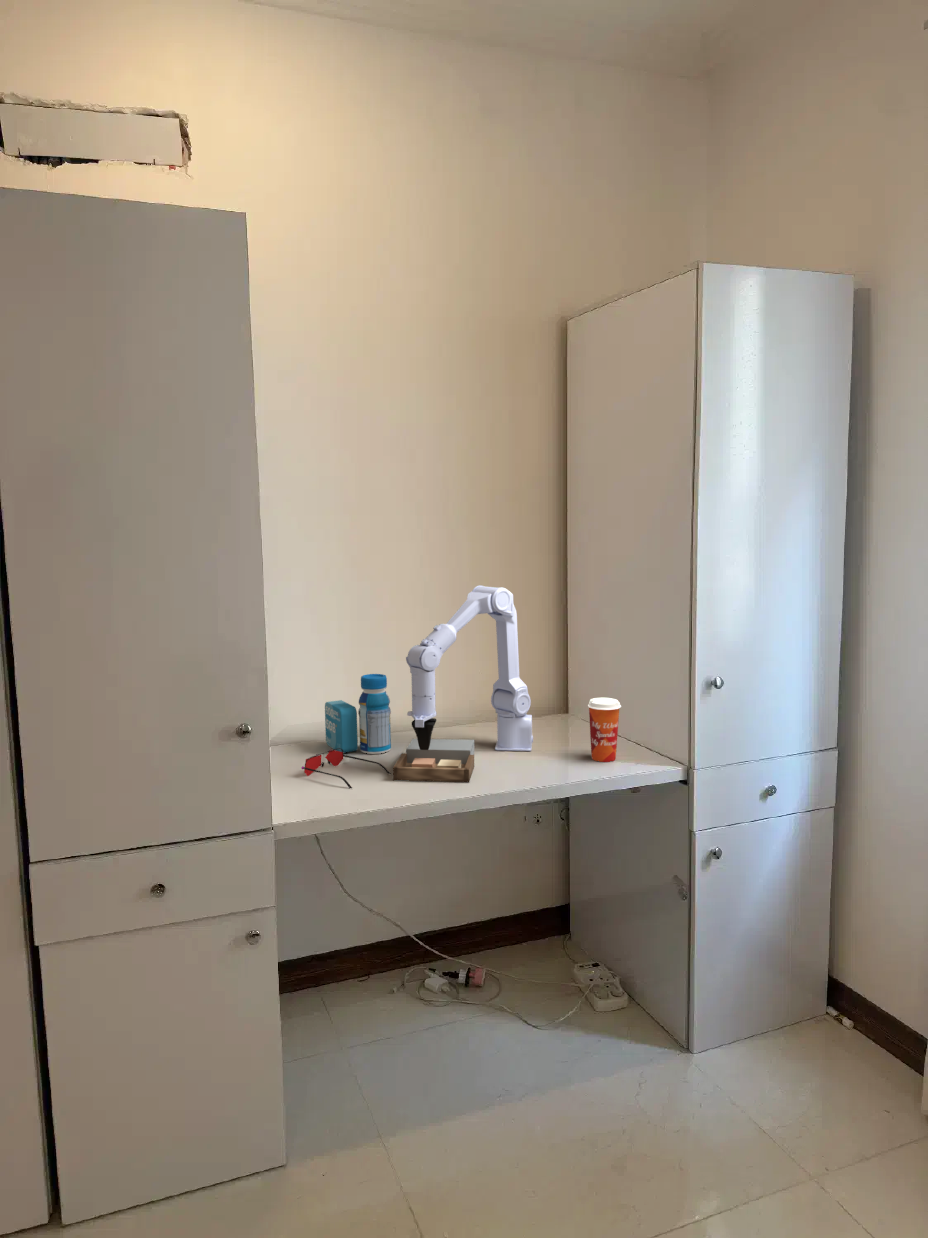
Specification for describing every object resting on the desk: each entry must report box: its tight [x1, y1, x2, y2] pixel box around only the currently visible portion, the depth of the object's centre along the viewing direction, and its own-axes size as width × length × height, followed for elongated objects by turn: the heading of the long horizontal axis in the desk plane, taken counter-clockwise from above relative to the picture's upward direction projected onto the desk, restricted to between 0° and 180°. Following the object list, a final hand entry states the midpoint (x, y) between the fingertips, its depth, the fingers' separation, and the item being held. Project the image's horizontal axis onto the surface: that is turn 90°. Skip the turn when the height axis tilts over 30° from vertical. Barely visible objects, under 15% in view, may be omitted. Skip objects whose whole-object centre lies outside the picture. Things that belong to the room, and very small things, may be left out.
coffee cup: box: [587, 697, 622, 763], centre depth 221 cm, size 8×8×15 cm
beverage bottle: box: [357, 673, 392, 755], centre depth 230 cm, size 8×8×20 cm
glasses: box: [301, 748, 392, 789], centre depth 210 cm, size 14×16×5 cm
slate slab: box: [405, 738, 475, 764], centre depth 222 cm, size 16×10×4 cm, turn 84°
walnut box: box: [392, 752, 475, 783], centre depth 211 cm, size 18×12×3 cm
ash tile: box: [437, 760, 461, 768], centre depth 211 cm, size 5×5×2 cm
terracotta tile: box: [412, 758, 435, 768], centre depth 212 cm, size 5×5×2 cm
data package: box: [324, 699, 359, 754], centre depth 233 cm, size 12×4×12 cm, turn 30°
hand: (424, 749), depth 215 cm, fingers closed
